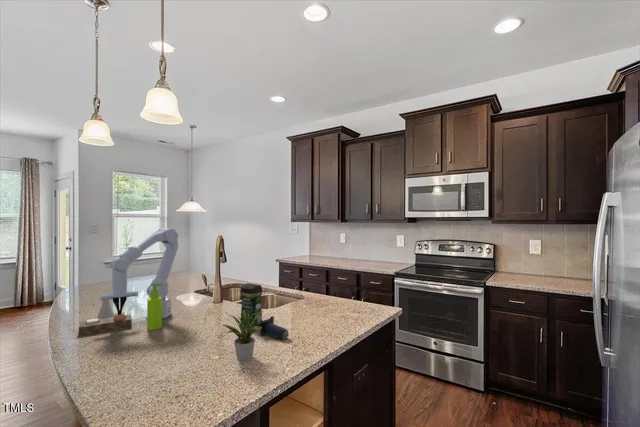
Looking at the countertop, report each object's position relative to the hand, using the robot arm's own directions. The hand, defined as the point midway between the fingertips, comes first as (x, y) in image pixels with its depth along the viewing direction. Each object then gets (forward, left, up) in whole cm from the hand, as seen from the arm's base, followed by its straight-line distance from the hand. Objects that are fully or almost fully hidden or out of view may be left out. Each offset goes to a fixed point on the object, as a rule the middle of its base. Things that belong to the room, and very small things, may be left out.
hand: (119, 314), depth 144 cm
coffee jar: (-60, +1, -6) cm, 60 cm away
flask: (+14, -14, -6) cm, 21 cm away
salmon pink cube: (0, 0, -4) cm, 4 cm away
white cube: (+9, +5, -5) cm, 11 cm away
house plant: (-64, +35, -6) cm, 73 cm away
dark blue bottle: (-72, +17, -6) cm, 74 cm away
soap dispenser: (-18, +3, -6) cm, 19 cm away
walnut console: (+4, +2, -6) cm, 7 cm away
